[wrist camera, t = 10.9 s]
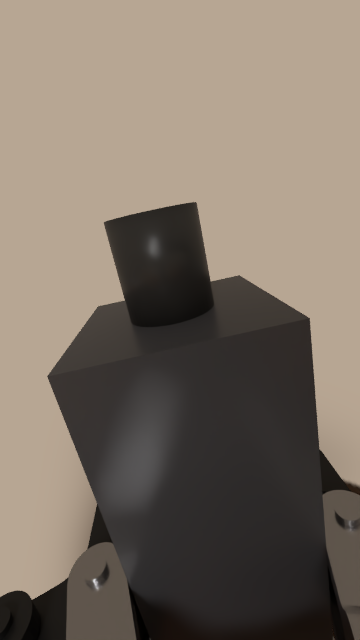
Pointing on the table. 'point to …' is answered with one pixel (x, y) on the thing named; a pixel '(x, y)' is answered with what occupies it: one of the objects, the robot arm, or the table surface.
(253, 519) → the plug
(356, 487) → the table surface
